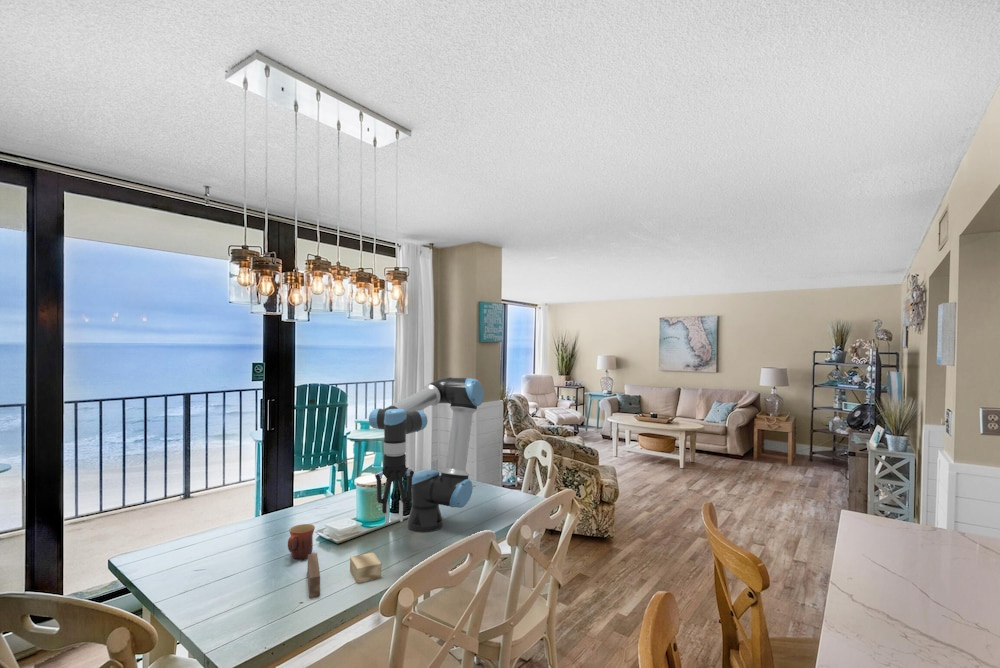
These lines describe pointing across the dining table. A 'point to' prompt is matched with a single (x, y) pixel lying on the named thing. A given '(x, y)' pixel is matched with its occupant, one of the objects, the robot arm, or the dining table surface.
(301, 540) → the mug
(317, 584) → the wooden block
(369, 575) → the oak block
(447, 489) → the robot arm
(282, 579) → the dining table surface
